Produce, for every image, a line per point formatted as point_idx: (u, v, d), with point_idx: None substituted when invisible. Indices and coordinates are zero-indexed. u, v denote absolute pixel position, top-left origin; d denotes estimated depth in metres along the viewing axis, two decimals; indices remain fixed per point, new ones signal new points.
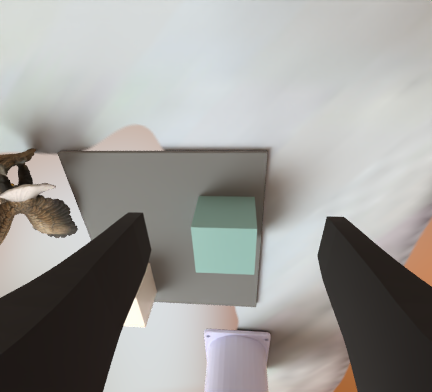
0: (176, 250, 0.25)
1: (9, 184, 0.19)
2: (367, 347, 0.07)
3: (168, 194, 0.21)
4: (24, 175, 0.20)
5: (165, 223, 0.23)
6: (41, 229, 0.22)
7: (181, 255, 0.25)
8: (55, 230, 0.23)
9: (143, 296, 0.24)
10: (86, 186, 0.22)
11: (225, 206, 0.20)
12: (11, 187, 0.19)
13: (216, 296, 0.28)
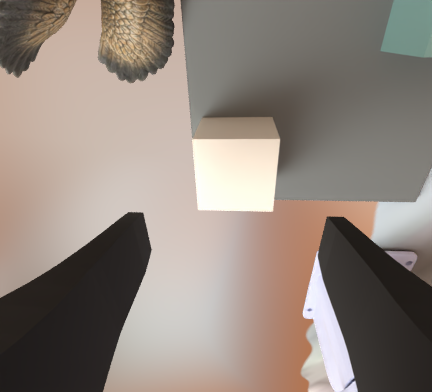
0: (326, 85, 0.15)
1: None
2: (367, 347, 0.07)
3: None
4: None
5: (325, 19, 0.14)
6: (124, 26, 0.13)
7: (330, 96, 0.16)
8: (145, 35, 0.13)
9: None
10: None
11: None
12: None
13: (359, 183, 0.19)
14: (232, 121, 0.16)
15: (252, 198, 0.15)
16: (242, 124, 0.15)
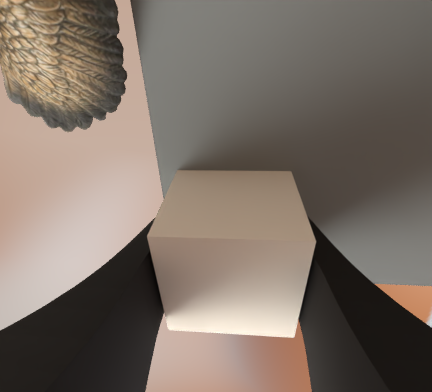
0: (386, 124, 0.09)
1: None
2: (317, 344, 0.07)
3: None
4: None
5: (399, 7, 0.07)
6: (23, 50, 0.07)
7: (391, 141, 0.09)
8: (67, 64, 0.07)
9: None
10: None
11: None
12: None
13: (421, 264, 0.12)
14: (225, 182, 0.10)
15: (259, 320, 0.09)
16: (242, 190, 0.09)
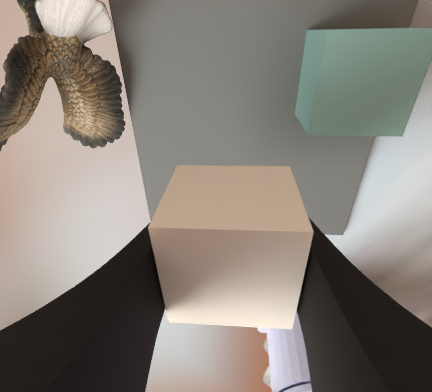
0: (252, 139, 0.18)
1: None
2: (317, 344, 0.07)
3: (260, 27, 0.14)
4: None
5: (245, 87, 0.16)
6: (80, 116, 0.16)
7: (257, 148, 0.18)
8: (98, 121, 0.16)
9: None
10: (136, 16, 0.14)
11: None
12: None
13: None
14: (225, 176, 0.10)
15: (258, 312, 0.09)
16: (241, 184, 0.09)
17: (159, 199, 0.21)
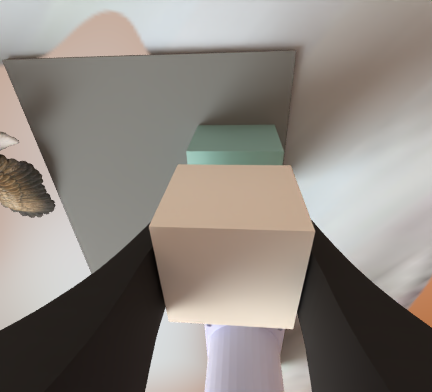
0: None
1: None
2: (317, 344, 0.07)
3: (156, 123, 0.16)
4: None
5: (153, 169, 0.17)
6: (7, 202, 0.18)
7: None
8: (25, 204, 0.18)
9: None
10: (46, 113, 0.16)
11: (234, 132, 0.14)
12: None
13: None
14: (226, 175, 0.10)
15: (259, 311, 0.09)
16: (242, 184, 0.09)
17: (95, 256, 0.22)
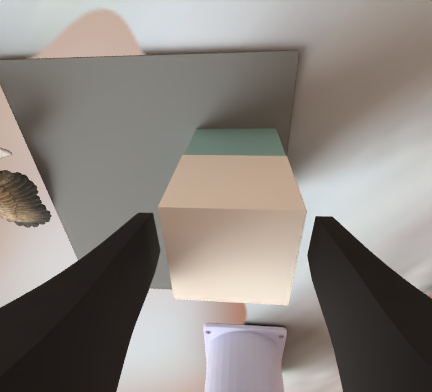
0: None
1: None
2: (351, 346, 0.07)
3: (152, 126, 0.15)
4: None
5: (150, 174, 0.17)
6: (1, 214, 0.17)
7: None
8: (20, 216, 0.18)
9: None
10: (37, 117, 0.15)
11: (234, 137, 0.14)
12: None
13: None
14: (227, 164, 0.10)
15: (257, 288, 0.10)
16: (242, 171, 0.10)
17: None
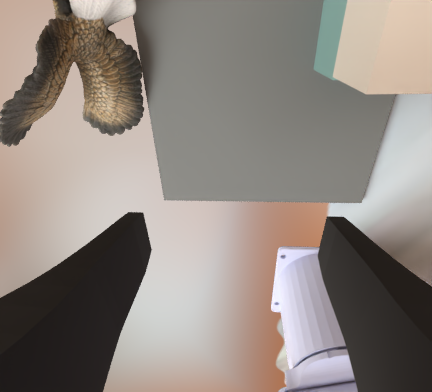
0: (269, 99, 0.17)
1: None
2: (367, 347, 0.07)
3: None
4: None
5: (262, 42, 0.15)
6: (101, 101, 0.16)
7: (274, 108, 0.17)
8: (118, 106, 0.17)
9: None
10: None
11: None
12: None
13: (309, 186, 0.20)
14: None
15: None
16: None
17: (172, 169, 0.20)
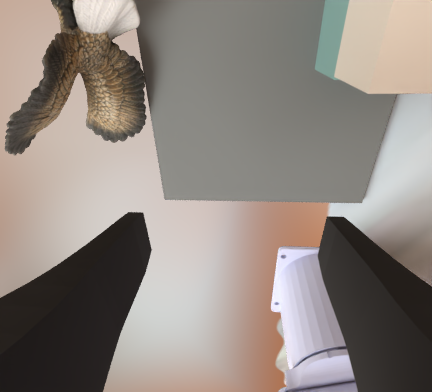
0: (270, 99, 0.17)
1: None
2: (367, 347, 0.07)
3: None
4: None
5: (263, 41, 0.15)
6: (105, 110, 0.17)
7: (275, 108, 0.17)
8: (121, 115, 0.17)
9: None
10: None
11: None
12: None
13: (309, 186, 0.20)
14: None
15: None
16: None
17: (172, 168, 0.20)
